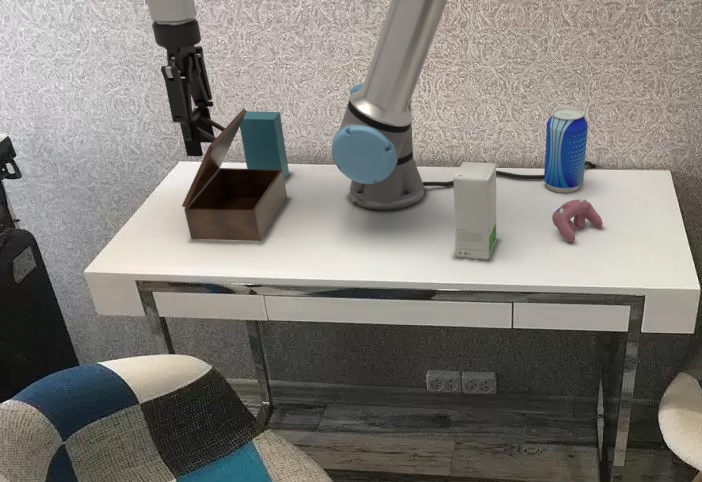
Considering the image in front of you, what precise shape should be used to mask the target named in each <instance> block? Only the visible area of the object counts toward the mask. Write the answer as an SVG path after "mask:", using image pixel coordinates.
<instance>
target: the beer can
mask: <svg viewBox="0 0 702 482" xmlns="http://www.w3.org/2000/svg"><path fill="white" fill-rule="evenodd" d="M588 127H589V124H588V122H587V119H586V118H585V113H584V111H583V110H580V109H579V108H574V107H560V108H555V109H554V110H552V111H551V116H550V117H549V118H548V120H547V122H546V131H545V151H544V152H545V153H544V172H543V175H544V179H543V181H544V183H545V184H546V186H547V188H548V190H551V191H553V192H557V193H566V194H567V193H573V192H576V191H577V190H579V189H580V187H581V185H583V183H584V180H585V179H584V178H585V168H586V167H585V161H586V153H587V141H588V129H589V128H588Z"/></svg>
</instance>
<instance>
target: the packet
mask: <svg viewBox="0 0 702 482" xmlns="http://www.w3.org/2000/svg"><path fill="white" fill-rule="evenodd" d="M239 132H240V136H241V141H242V147H243V153H244V158H245V164H246V169H277V170H283V174H284V179H286V177H289V175H290V171H289V164H288V157H287V151H286V144H285V143H286V142H285V136H284V131H283V124H282V117H281V112H280V111H256V110H255V111H254V110H253V111H251V110H250V111H248V110H247V112H246V114H245V116H244V118H243V120H242V122H241V125H240V127H239Z"/></svg>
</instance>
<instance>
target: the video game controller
mask: <svg viewBox="0 0 702 482" xmlns="http://www.w3.org/2000/svg"><path fill="white" fill-rule="evenodd" d="M551 218H552V223H553V225H554V227H556V228H557V230H558V233H560V235H561V236H562V238H563V239H564V240H566V241H567V242H568V243H571V244H572V243H574V242H575V241H576V237H575V233H574V232H575V231H576V230H575V229H582V228H584V227H585V225H586V220H587V221H588V222H589V223H590V224H591V225H592V226H594V227H595V228H597V229H601V228H602V227H603V219H602V218H601V216H600V214H599V213H598V212H597V210H596V209H595V208H594V207H593V205H592V203H590V202H589V201H588V200H587V199H583V198H582V199H581V198H580V199H579V198H578V199H572V200H568V201H566V202H564V203H562V204H561V206H559V208H557V209H556V210H555V211H554V212H553V213H552V216H551ZM571 219H573V220H571Z"/></svg>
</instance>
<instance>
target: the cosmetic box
mask: <svg viewBox="0 0 702 482" xmlns="http://www.w3.org/2000/svg"><path fill="white" fill-rule="evenodd" d="M496 171H497V163H495V162H475V161H462V163H461V164H460V166H459V167H457V169H456V172H455V173H454V175H453V178H452V179H453V181H454V185H453V205H454V231H455V232H454V233H455V234H454V235H455V257H457V258H465V259H474V260H475V259H476V260H489V259H490V258H491V254H492V253H493V249H494V247H495V245H496V243H497V175H496Z"/></svg>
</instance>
